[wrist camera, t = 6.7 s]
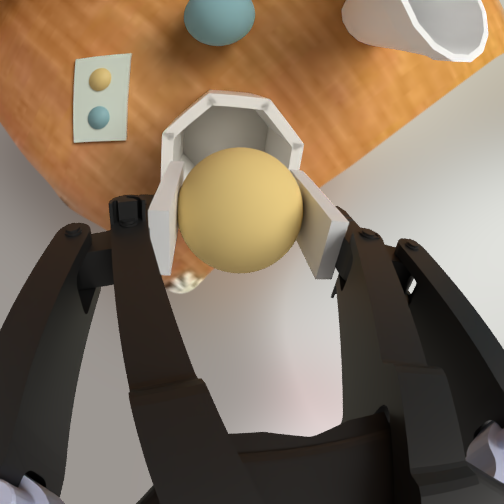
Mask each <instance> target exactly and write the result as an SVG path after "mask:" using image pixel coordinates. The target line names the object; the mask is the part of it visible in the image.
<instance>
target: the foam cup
mask: <svg viewBox="0 0 504 504" xmlns="http://www.w3.org/2000/svg"><path fill="white" fill-rule="evenodd" d="M342 21H343V23H344V25H345V27H346V29H347V30H348V32H349V33H350V34H351V35H352V36H353V37H354V38H355V39H357V40H358V41H359V42H362V43H365V44H367V45H372V46H377V47H384V48H390V49H396V50H401V51H407V52H412V53H416V54H421V55H425V56H428V57H430V58H431V59H433V60H443V61H453V62H472V61H473V60H474V59H475V58H476V57H478V56H479V55H480V54H481V53H483V51H484V47H485V44H486V41H487V37H488V25H487V16H486V11H485V9H484V6H483V4H482V1H481V0H346V1H345V3H344V5H343V7H342Z"/></svg>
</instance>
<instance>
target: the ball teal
mask: <svg viewBox="0 0 504 504" xmlns="http://www.w3.org/2000/svg"><path fill="white" fill-rule="evenodd" d="M254 20H255V9H254V6H253V3H252V1H251V0H190V1H189V2H188V4H187V6H186V8H185V12H184V23H185V26H186V29H187V30H188V32H189V33H190V34H191V36H193V37H194V38H195V39H196V40H198V41H200V42H201V43H204V44H207V45H212V46H224V45H229V44H232V43H234V42H237V41H238V40H240V39H242V38H243V37H244V36H245V35H246V34H247V33H248V32H249V31H250V29H251V28H252V26H253V23H254Z"/></svg>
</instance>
